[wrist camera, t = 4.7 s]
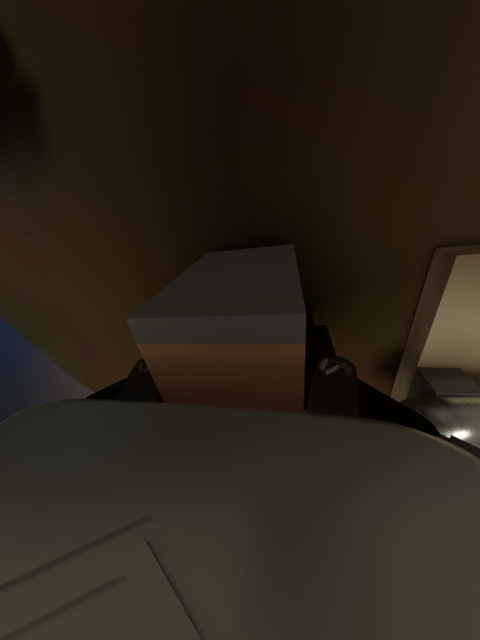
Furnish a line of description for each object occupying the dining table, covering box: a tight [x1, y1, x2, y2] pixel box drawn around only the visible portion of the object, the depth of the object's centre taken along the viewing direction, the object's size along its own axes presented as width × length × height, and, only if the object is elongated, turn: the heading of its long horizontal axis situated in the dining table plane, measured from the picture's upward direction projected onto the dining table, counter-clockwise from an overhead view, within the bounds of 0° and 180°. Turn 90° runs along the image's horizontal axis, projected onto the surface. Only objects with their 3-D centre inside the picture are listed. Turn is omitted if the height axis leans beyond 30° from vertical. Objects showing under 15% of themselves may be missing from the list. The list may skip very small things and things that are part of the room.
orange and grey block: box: [126, 244, 306, 412], centre depth 10 cm, size 8×4×7 cm, turn 7°
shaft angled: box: [400, 395, 480, 446], centre depth 11 cm, size 2×5×4 cm, turn 97°
